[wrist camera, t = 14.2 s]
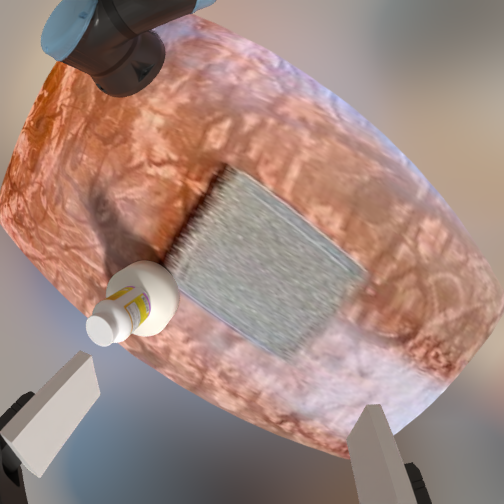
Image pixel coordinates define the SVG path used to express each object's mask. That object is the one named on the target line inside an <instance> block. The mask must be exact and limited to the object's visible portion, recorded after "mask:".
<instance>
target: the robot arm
mask: <svg viewBox="0 0 504 504" xmlns="http://www.w3.org/2000/svg"><path fill="white" fill-rule="evenodd" d="M215 1H216V0H62V1H61V2H60V3H59V4H58V6H57V7H56V8H55V9H54V11H53V12H52V14H51V15H50V17H49V19H48V20H47V22H46V24H45V26H44V29H43V32H42V36H41V47H42V49H43V51H44V52H45V53H46V54H48V55H50V56H51V57H53V58H54V59H55V60H56V61H61V62H63V63H65V64H67V65H69V66H72V67H74V68H76V69H78V70H80V71H82V72H85V73H87V74H89V75H90V76H91V77H92V79H93V80H94V82H95V83H96V85H97V87H98V88H99V89H100V90H101V91H102V92H104V93H106V94H108V95H110V96H112V97H127V96H130V95H133V94H135V93H137V92H139V91H140V90H142V89H143V88H145V87H146V86H147V85H148V84H150V83H151V82H152V80H153V79H154V78H155V77H156V76H157V74H158V73H159V71H160V70H161V68H162V65H163V63H164V59H165V47H164V44H163V42H162V41H161V40H160V39H159V38H158V36H157V35H155V34H154V33H152V32H150V31H149V30H152V29H154V28H156V27H158V26H160V25H163V24H165V23H167V22H170V21H172V20H175V19H177V18H180V17H182V16H185V15H188V14H193V13H195V12H196V11H197V10H200V9H203V8H205V7H208V6H210V5H212V4H213V3H214V2H215ZM99 396H100V390H99V386H98V382H97V378H96V374H95V370H94V365H93V360H92V355H89V354H87V353H84V352H82V351H79V352H78V353H77V354H76V355H75V356H74V357H73V358H72V359H71V360H70V361H69V362H68V363H66V365H65V366H63V367H62V368H61V369H60V370H59V371H58V372H57V373H56V374H55V375H54V376H53V377H52V378H51V379H50V380H49V381H48V382H47V383H46V384H45V385H44V386H43V387H42V388H41V389H40V390H39V391H38V392H37V393H36V394H34V393H33V392H28V393H26V394H24V395H22V396H21V397H20V398H19V399H18V400H17V401H16V403H14V404H13V405H12V406H11V408H9V409H8V410H7V411H6V412H5V413H4V414H3V415H2V416H1V417H0V504H28V501H27V497H26V492H25V487H24V481H23V475H22V469H21V467H20V464H21V463H23V464H24V466H25V467H26V468H27V469H28V470H29V471H31V472H32V473H33V474H35V475H36V476H38V477H39V478H40V477H41V476H42V474H43V473H44V471H45V470H46V469H47V467H48V466H49V464H50V463H51V461H52V460H53V459H54V457H55V456H56V454H57V453H58V451H59V450H60V449H61V447H62V446H63V444H64V443H65V442H66V440H67V439H68V438H69V436H70V435H71V433H72V432H73V431H74V429H75V428H76V427H77V425H78V424H79V422H80V421H81V420H82V418H83V417H84V416H85V414H86V413H87V412H88V410H89V409H90V408H91V406H92V405H93V404H94V402H95V401H96V400H97V398H98V397H99ZM346 440H347V445H348V449H349V454H350V458H351V463H352V467H353V472H354V477H355V482H356V487H357V492H358V497H359V502H360V504H432V503H431V500H430V497H429V494H428V492H427V489H426V488H425V483H424V481H423V480H422V479H423V478H422V475H421V473H420V470H419V469H418V468H417V467H416V466H415V465H414V464H413V462H412V463H408V464H404V463H403V461H402V458H401V455H400V453H399V450H398V447H397V445H396V442H395V439H394V437H393V434H392V432H391V429H390V427H389V424H388V422H387V419H386V417H385V414H384V412H383V409H382V407H381V405H380V404H376V405H366V407H365V408H364V410H363V412H362V414H361V416H360V417H359V419H358V421H357V423H356V424H355V426H354V428H353V429H352V431H351V433H350V434H349V436H348V437H347V439H346Z"/></svg>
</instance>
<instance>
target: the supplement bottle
mask: <svg viewBox="0 0 504 504" xmlns="http://www.w3.org/2000/svg"><path fill="white" fill-rule="evenodd" d="M150 312H151V301H150V298H149V296H148V295H147V293H146V292H145V291H144V290H143V289H141V288H140V287H137V286H132V285H131V286H126V287H124V288H123V289H121V290H119V291H118V292H116V293H114V294H112V295H111V296H109V297H107V298H106V299H104V300H102V301H101V302H99V303H98V304H97V305H96V306H95V307H94V310H93V313H92V315H91V316H90V317H89V318H88V319H87V321H86V330H87V333H88V335H89V337H90V338H91V340H92V341H93V342H94V343H96V344H97V345H99V346H108V345H110V344H111V343H119V342H122V341H124V340H125V339H126V338H128V337H129V336H130V335H131V334H132V333H133V332H134V331H135V330H136V329H137V328H138V327H139V326H140V325H141V324H142V323H143V322H144V321H145V320H146V319H147V318H148V316H149V315H150Z"/></svg>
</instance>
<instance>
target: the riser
mask: <svg viewBox="0 0 504 504" xmlns="http://www.w3.org/2000/svg"><path fill="white" fill-rule="evenodd" d="M131 285H132V286H137V287H140V288H141V289H143V290H144V291H145V292H146V293H147V295H148V296H149V298H150V301H151V312H150V315H149V316H148V318H147V319H146V320H145V321H144V322H143V323H142V324H141V325H140V326H139V327H138V328H137V329H136V330H135V331H134V332H133V334H135V335H139V336H152V335H155V334H158V333H159V332H161V331H162V330H163V329H164V327H165V326H166V325H167V323H168V322H169V321H170V319H171V318H172V317H173V315H174V314H175V313H176V311H177V309H178V306H179V302H180V294H179V289H178V286H177V283H176V281H175V279H174V278H173V276H172V275H171V274H170V272H169V271H168V270H167V269H165V268H164V267H163V266H161V265H160V264H158V263H155V262H152V261H148V260H141V261H137V262H134V263H132V264H130V265H129V266H127V267H125V268H124V269H122V270H120V271H119V272H117V273H116V274H114V275H113V276H112V278H111V279H110V281H109V283H108V285H107V290H106V298H107V297H109V296H111V295H112V294H114V293H116V292H118V291H119V290H121V289H123V288H124V287H126V286H131Z"/></svg>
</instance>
